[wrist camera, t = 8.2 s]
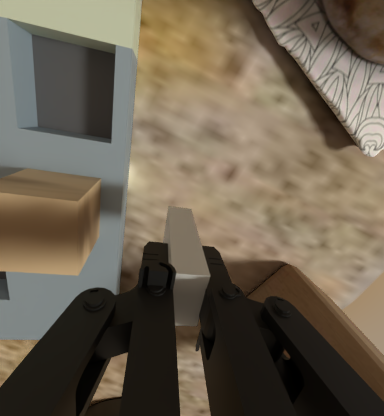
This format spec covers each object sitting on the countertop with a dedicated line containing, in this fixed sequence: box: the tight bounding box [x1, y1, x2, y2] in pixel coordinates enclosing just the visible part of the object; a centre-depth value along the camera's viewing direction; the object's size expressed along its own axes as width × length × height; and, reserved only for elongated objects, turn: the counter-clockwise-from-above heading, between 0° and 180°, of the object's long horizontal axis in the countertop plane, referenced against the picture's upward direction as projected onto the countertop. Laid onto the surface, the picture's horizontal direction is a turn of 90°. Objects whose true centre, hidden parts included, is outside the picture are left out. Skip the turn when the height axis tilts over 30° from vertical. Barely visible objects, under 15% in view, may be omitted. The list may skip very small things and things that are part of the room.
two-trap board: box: [0, 0, 142, 340], centre depth 15 cm, size 34×16×6 cm, turn 170°
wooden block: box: [246, 264, 384, 401], centre depth 19 cm, size 10×10×20 cm
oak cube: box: [0, 168, 101, 276], centre depth 15 cm, size 5×5×5 cm
